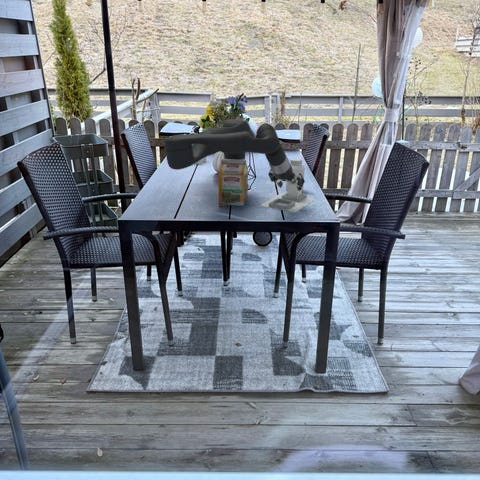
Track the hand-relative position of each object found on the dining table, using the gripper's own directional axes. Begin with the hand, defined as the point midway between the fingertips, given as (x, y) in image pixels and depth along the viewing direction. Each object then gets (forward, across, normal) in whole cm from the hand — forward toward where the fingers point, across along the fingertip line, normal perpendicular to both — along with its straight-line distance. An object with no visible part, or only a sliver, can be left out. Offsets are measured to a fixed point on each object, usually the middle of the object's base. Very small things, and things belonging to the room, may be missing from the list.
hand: (290, 187), depth 175 cm
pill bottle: (+19, -6, +9) cm, 22 cm away
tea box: (+34, -82, +24) cm, 92 cm away
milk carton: (-2, -21, -14) cm, 25 cm away
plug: (+8, 0, 0) cm, 9 cm away
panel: (+5, -1, -5) cm, 8 cm away
